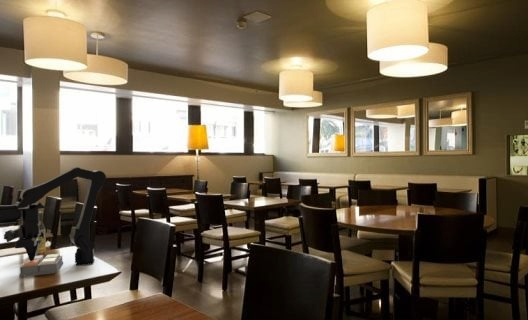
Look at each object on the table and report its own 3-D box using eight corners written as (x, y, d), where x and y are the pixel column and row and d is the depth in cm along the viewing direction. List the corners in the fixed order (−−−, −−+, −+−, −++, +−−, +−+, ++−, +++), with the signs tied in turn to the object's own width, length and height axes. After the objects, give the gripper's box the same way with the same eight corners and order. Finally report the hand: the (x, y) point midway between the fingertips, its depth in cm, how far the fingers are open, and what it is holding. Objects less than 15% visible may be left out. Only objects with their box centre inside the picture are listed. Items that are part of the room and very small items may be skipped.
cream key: (56, 262, 147) (56, 257, 147) (54, 265, 143) (54, 260, 143) (44, 263, 146) (44, 258, 146) (41, 266, 142) (41, 261, 142)
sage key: (59, 258, 153) (59, 253, 153) (57, 261, 149) (57, 256, 149) (47, 259, 152) (47, 254, 152) (45, 262, 148) (45, 257, 148)
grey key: (43, 260, 151) (43, 255, 151) (40, 263, 147) (40, 258, 147) (31, 261, 150) (30, 256, 150) (27, 264, 146) (27, 259, 146)
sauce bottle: (40, 257, 164) (39, 213, 163) (26, 258, 164) (25, 213, 163) (49, 253, 170) (48, 211, 170) (35, 253, 170) (34, 211, 170)
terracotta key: (39, 264, 146) (39, 259, 145) (36, 267, 141) (36, 262, 141) (26, 265, 144) (26, 260, 144) (23, 268, 140) (23, 263, 140)
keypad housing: (63, 263, 155) (63, 255, 154) (57, 272, 143) (56, 263, 143) (28, 267, 150) (28, 258, 150) (19, 276, 139) (19, 267, 139)
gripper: (14, 218, 149) (15, 256, 149) (-3, 226, 131) (-2, 270, 131) (45, 216, 152) (46, 253, 153) (33, 224, 135) (34, 266, 135)
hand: (31, 260), depth 143 cm, fingers closed
